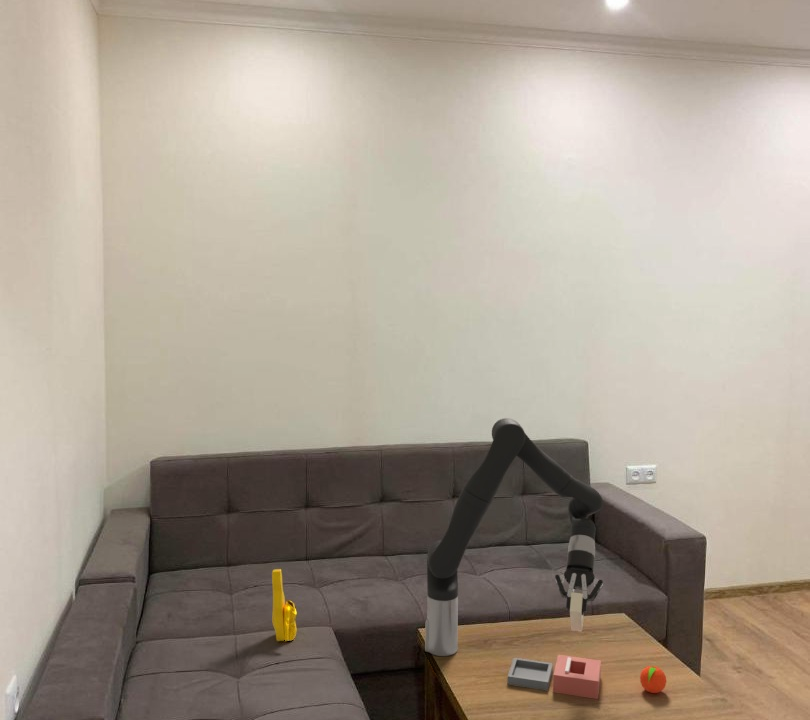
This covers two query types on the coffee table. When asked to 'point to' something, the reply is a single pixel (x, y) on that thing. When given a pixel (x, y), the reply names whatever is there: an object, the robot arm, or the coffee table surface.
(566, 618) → the coffee table surface
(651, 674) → the clementine
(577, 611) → the tall beige block
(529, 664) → the tray
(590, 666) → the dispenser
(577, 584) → the robot arm
